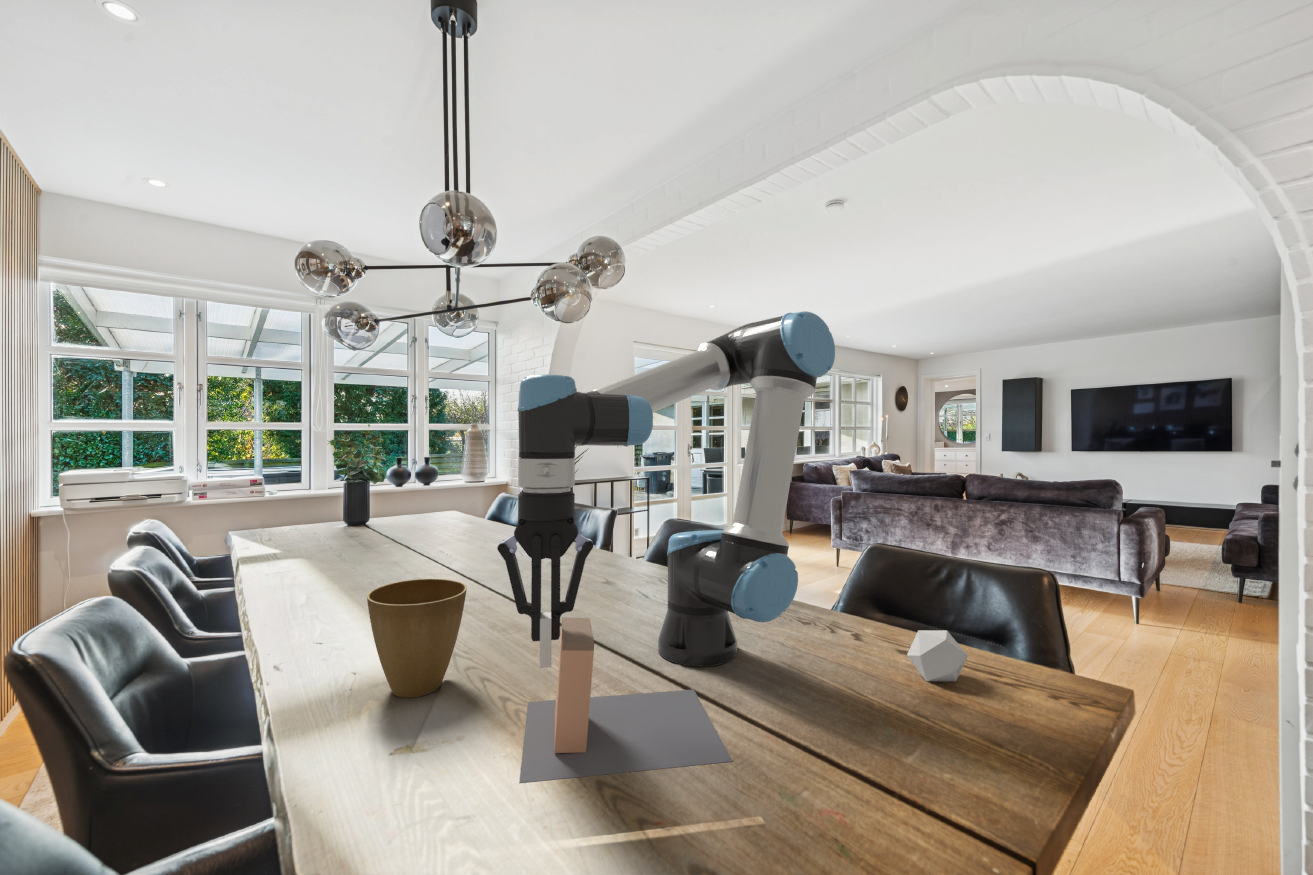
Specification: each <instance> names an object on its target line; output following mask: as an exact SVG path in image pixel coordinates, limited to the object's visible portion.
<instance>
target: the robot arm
mask: <svg viewBox="0 0 1313 875" xmlns="http://www.w3.org/2000/svg"><path fill="white" fill-rule="evenodd" d="M835 360H836V346H835V340H834V337H833V334H832V332H831V331H830V329H829V326H828V324H827V323H826V322H825V321H824V319H822V318H821V317H820V316H819V315H818V314H816V313H814V312H812V311H798V312H786V313H784V315H781V316H777V317H772V318H767V319H763V320H759V321H755V322H749V323H747V324H743V325H741V326H739V327H736V328H735V329H732V330H731V331H729V332H727V333H724V334H723V335H720V336H718V337H716V338H713V339H711V340H709V341H705V342H704V343H701V344H700V345H699V346H698V347H697V349H696V351H695V352H692V353H689V354H686V355H683V356H681V357H678V358H676V359H672V360H671V361H668V362H664V363H662V364H660V365H657V366H654V367H652V368H648V369H647V370H646V369H645V370H644V371H640V372H639V373H636V374H633V375H630V376H628V377H625V378H622V379H620V380H619V379H618V380H617V381H614V382H611V383H609V384H606V385H603V386H601V387H598V388H596V389H595V388H594V389H593V390H591V391H588V392H581V391H577V390H578V389H577V387H576V381H575V379H574V378H573V377H572V376H570V375H569V376H567V375H562V374H532V375H531V374H530V375H527V376H525V377H524V378H522V379H521V381H520V383H519V392H518V405H517V406H518V407H517V413H518V415H517V416H518V463H517V464H518V466H517V467H518V469H517V470H518V471H517V473H518V474H517V475H518V476H517V477H518V481H517V482H518V484H517V486H518V487H519V488H520V489H522V490H521V491H519V493H518V494H517V496H518V497H517V499H518V500H517V525H516V527H515V529H514V530H513V535H511V536H510V537H507V539H503V540H501V541H499V543H498V545H497V548H496V549H497V551H498V552H499V554H500V555H501V557H502V559H503V560H504V562H505V564H506V570H507V572H508V573H507V574H508V579H509V583H510V586H511V590H512V594H513V597H514V602H515V606H516V610H517V613H518V614H520V615H526V616H529V618H530V619H531V622H530V623H531V626H530V628H531V629H530V630H531V631H530V638H531V641H532V642H539V669H544V668H545V669H546V668H547V669H548V668H552V641H559V639H560V638H561V618H562V615H563V614H565V613H570V612H572V611H573V610H574V609H575V604H576V600H577V596H578V591H579V588H580V583H581V580H582V575H583V572H584V567H585V563H586V560H587V557H588V556H589V554H590V553H591V551H592V550H593V549H594V542H593V539H592V538H590V537H586V536H584V535H582V534H581V533H580V532H579V529H578V526H577V524H576V522H575V521H576V520H575V503H576V502H575V500H576V499H575V497H576V496H575V493H574V491H573V490H571V488H573V487H574V486H575V485H576V483H575V482H576V479H575V478H576V474H575V473H576V472H575V471H576V469H575V468H576V460H575V459H576V446H578V447H581V446H582V447H583V446H600V447H601V446H603V447H605V446H607V447H608V446H609V447H611V446H612V447H615V446H616V447H618V446H620V447H621V446H623V447H626V448H627V447H628V446H629V447H630V446H639V445H643V444H645V443H646V442H647V440H649V438H650V436H651V434H652V431H653V427H654V413H656V412H658V411H660V410H662V409H665V408H668V407H670V406H672V405H675V404H676V403H680V402H681V401H684V400H686V399H689V398H691V397H693V396H696V395H697V394H700V393H702V392H705V391H708V390H712V391H721V390H724V389H726V388H728V387H731V386H738V385H744V384H750V387H751V388H753V390H754V391H755V398H754V403H753V404H754V405H753V408H752V409H753V410H752V415H751V421H750V425H749V432H748V436H747V437H748V438H747V443H746V448H745V454H744V460H743V465H742V470H741V475H740V480H739V486H738V493H737V498H736V503H735V508H734V514H733V520H732V522H731V524H730V525H728V527H725V529H722V530H721V529H719V530H718V529H714V530H695V531H684V532H677V533H673V534H672V535H671V536H670V537H669V539H668V545H667V553H666V555H667V611H666V614H665V617H664V620H663V623H662V627H661V629H660V632H659V636H658V638H657V640H658V642H657V644H658V648H657V650H658V651H657V652H658V653H659V655H660V656H661V657H662V658H664V659H666V660H667V661H669V662H672V663H676V664H679V665H682V666H683V665H684V666H693V667H712V666H718V665H719V666H720V665H723V664H725V663H729V662H731V661H732V660H733V659H735V657H737V654H738V641H737V637H736V634H735V631H734V628H733V624H732V621H731V618H730V614H729V613H731V614H734V615H736V616H737V617H739V618H740V619H743V620H745V619H746V620H749V621H750V620H751V621H753V622H757V623H767V622H772V621H774V620H775V619H777V618H779V617H781V615H782V614H783V613H784V612H786V611H787V609H789V607H790V606H791V604H792V603H793V601H794V599H795V596H796V593H797V589H798V584H799V573H798V571H797V570H796V568H797V567H796V564H795V562H794V561H793V560H792V559H791V558H790V557H789V556H788V553H789V546H790V544H789V542H788V540H786V538H785V536H784V534H783V529H784V528H783V527H784V523H785V517H786V510H787V504H788V500H789V499H788V498H789V493H790V487H791V486H790V485H791V481H792V475H793V470H794V463H795V457H796V451H797V446H798V439H799V435H800V434H799V433H800V428H801V421H802V416H803V410H804V404H805V401H806V399H808V398H810V396H812V395H813V394H815V391H816V386H817V379H818V378H821V377H823V376H825V375H827V374H828V372H829V371H830V370H831V369H832V368H833V366H834V364H835ZM574 541H575V546H574V548H575V551H576V555H575V558H574V561H573V562H574V563H573V565H572V569H571V574H570V578H569V581H568V586H567V589H566V594H565V598H564V600H562V601H561V558H562V557H563V556H564V555H566V552H568V550H569V548H570V547H571V545H572V544H573V543H574ZM517 543H518V544H519V545H520V548H522V549H523V550H524V552H525V553H526V555H527V556H528V557H529V558H531V561H530V562H531V563H530V564H531V566H530V567H531V587H530V588H531V593H530V594H531V595H530V596H531V598H530V599H531V602H528V599H527V596H526V591H525V587H524V583H523V578H522V574H521V570H520V567H519V562H518V558H517V556H516V552H517V551H518V546H517ZM544 559H547V560H548V559H549V560H550V565H551V567H550V577H551V578H550V580H551V581H550V612H549V611H548V612H547V611H546V612H542V560H544Z"/></svg>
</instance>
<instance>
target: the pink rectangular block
mask: <svg viewBox="0 0 1313 875" xmlns="http://www.w3.org/2000/svg"><path fill="white" fill-rule="evenodd" d="M592 628H593V627H592V622H591V617H564V616H561V625H560V638H559V639H560V641H559V653H558V655H559V656H558V667H557V678H556V679H557V680H556V692H555V693H556V694H555V700H556V704H555V743H554V753H578V752H586V746H587V733H588V720H589V707H590V697H591V692H592V691H591V690H592V681H593V679H592V678H593V667H594V664H593V663H594V654H595V653H594V652H595V638H594V633H593V629H592Z"/></svg>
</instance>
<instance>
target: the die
mask: <svg viewBox="0 0 1313 875" xmlns="http://www.w3.org/2000/svg"><path fill="white" fill-rule="evenodd" d="M906 657H907V658H908V659H909V660H910V662H911V663H912V664H913V666H914V667H915V668H916V669H917V671H918V672H919V674H920V675H921V676H922V677H923V679H924V680H925V681H926V682H957V680H958V678H959V676H960V673H961V672H962V669H963V667H964V666H965V663H966V661H967V659H968V658H969V655H968V653H967V652H966V651H965V650H964V649H963V648H962V647H961V645H960V644H959V643H958V642H957V641H956V639H955V638H954V637H953V636H952V634H951V633H950V632H949V631H948V630H940V629H939V630H930V629H929V630H921V629H920V630H917V632H916V634H915V636H914V639H913V641H912V643H911V645H910V647H909V650H908V652H907V654H906Z"/></svg>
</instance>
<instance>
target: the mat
mask: <svg viewBox="0 0 1313 875" xmlns="http://www.w3.org/2000/svg"><path fill="white" fill-rule="evenodd" d="M555 704H556V699H551V700H536V701H528V702H527V708H526V710H527V711H526V715H525V716H526V718H525V727H524V736H523V737H524V738H523V745H522V746H523V747H522V756H521V762H520V774H519V784H526V783H534V782H535V783H537V782H543V781H545V782H546V781H553V780H564V779H574V778H576V779H577V778H585V777H594V776H595V777H596V776H603V775H615V774H625V773H633V772H642V771H643V772H644V771H652V770H653V771H654V770H665V769H673V768H682V767H683V768H684V767H692V766H693V767H695V766H703V765H712V764H713V765H715V764H722V763H732V762H734V761H733V758H732V757H731V756H730V753H729V752H728V750H727V748H726V746H725V744H724V743H723V740H722V739H721V737H720V735H719V733H718V731H717V730H716V728H715V726H714V724H713V722H712V720H711V718H710V717H709V715H708V713H707V711H706V710H705V707H704V706H703V704H702V702H701V700H700V699H699V697H698V695H697V693H696V691H695V689H681V690H669V691H657V692H656V691H655V692H643V693H633V694H632V693H630V694H629V693H628V694H617V695H616V694H615V695H604V696H603V695H602V696H601V695H600V696H590V707H589V720H588V733H587V746H586V752H578V753H554V743H555Z"/></svg>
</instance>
